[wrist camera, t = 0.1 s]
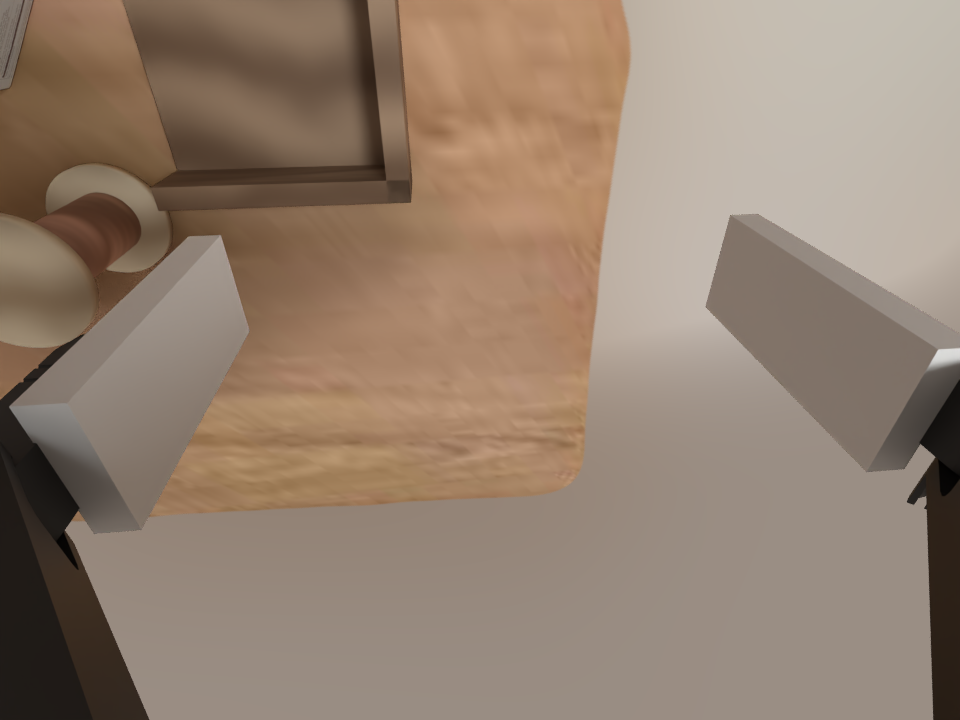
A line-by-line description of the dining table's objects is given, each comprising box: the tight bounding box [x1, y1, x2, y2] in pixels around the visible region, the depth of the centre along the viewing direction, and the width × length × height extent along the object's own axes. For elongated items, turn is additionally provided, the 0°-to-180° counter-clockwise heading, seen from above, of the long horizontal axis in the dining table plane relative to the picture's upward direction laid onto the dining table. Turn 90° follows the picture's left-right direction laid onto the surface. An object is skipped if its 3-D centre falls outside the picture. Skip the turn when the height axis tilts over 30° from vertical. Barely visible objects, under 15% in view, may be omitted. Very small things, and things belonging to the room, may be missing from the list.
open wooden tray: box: [123, 0, 412, 211], centre depth 32 cm, size 16×16×5 cm
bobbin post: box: [0, 163, 173, 348], centre depth 34 cm, size 8×8×12 cm
